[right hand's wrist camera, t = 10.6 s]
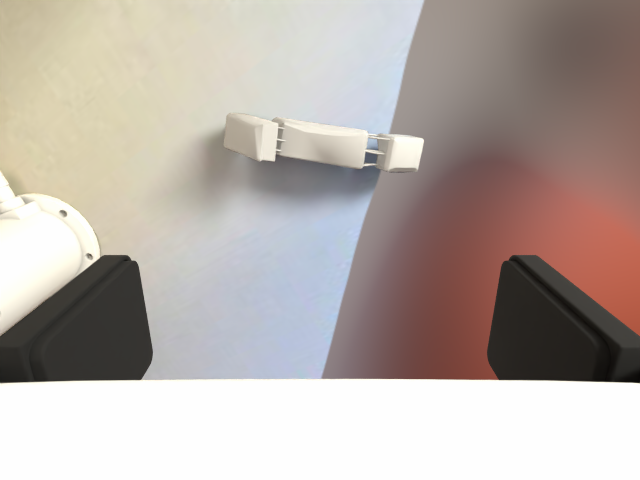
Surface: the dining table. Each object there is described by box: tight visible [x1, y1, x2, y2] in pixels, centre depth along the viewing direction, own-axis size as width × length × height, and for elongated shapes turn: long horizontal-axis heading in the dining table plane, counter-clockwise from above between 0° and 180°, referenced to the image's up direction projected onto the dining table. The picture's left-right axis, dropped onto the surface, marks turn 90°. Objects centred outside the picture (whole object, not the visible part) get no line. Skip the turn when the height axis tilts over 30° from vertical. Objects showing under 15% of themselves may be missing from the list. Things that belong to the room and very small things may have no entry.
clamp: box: [224, 113, 424, 173], centre depth 41 cm, size 20×4×7 cm, turn 83°
